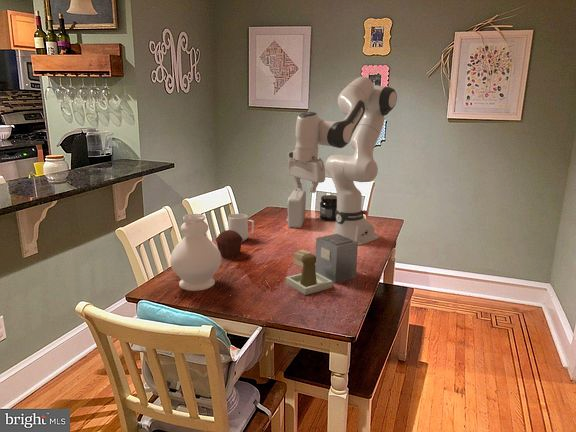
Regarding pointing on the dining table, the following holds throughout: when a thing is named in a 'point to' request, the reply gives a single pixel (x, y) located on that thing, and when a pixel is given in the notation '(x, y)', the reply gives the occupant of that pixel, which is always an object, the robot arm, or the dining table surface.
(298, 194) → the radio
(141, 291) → the dining table surface
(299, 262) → the maple block
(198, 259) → the decorative vase
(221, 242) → the muffin
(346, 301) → the dining table surface
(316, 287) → the tray
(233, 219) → the mug
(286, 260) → the dining table surface
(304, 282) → the cork
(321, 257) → the box
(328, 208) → the supplement container
